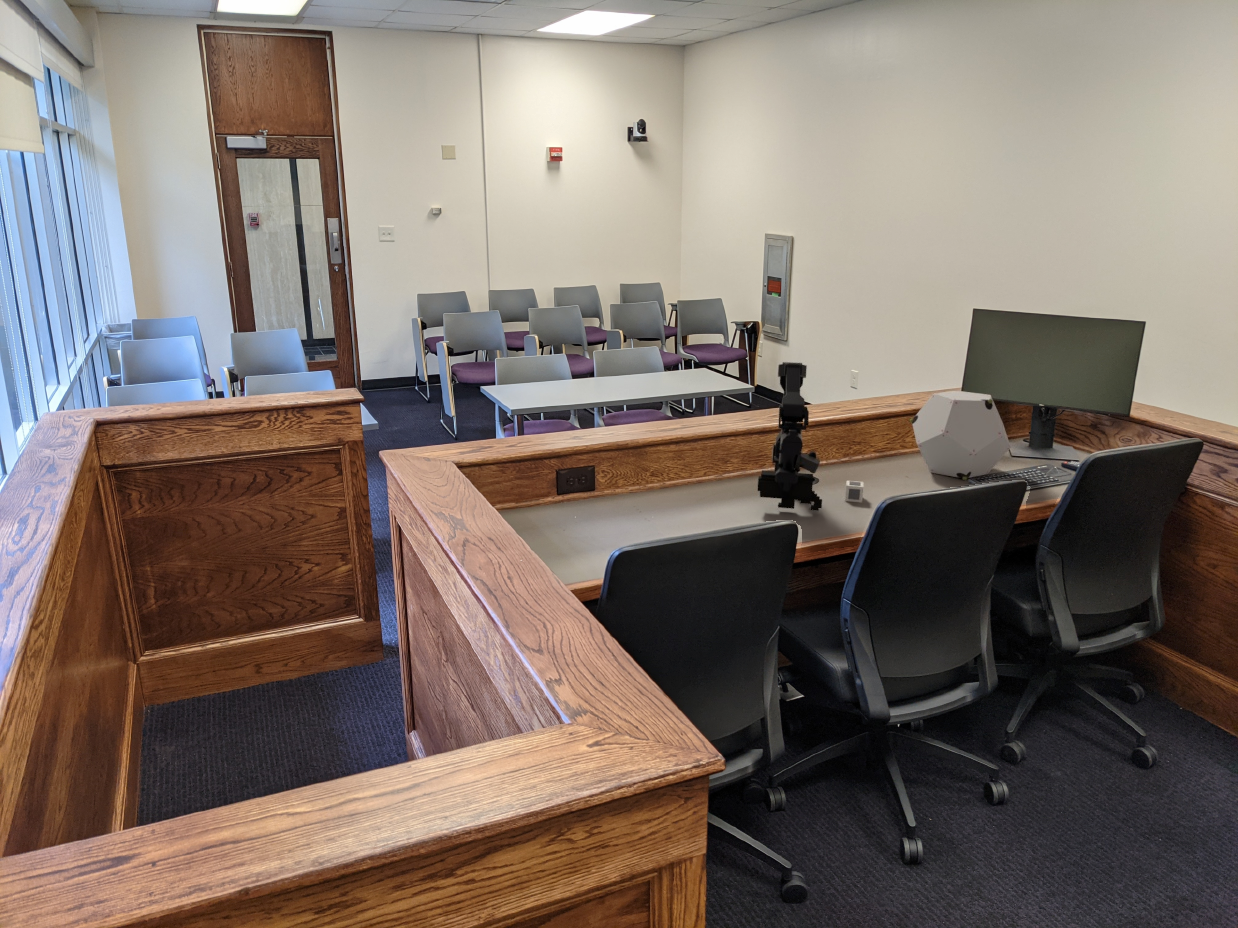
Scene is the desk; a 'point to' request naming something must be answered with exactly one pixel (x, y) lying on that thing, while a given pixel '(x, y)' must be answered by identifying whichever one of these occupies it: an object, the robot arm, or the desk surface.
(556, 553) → the desk surface
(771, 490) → the security camera
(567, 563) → the desk surface
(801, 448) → the robot arm
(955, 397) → the geometric sculpture
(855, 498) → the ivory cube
